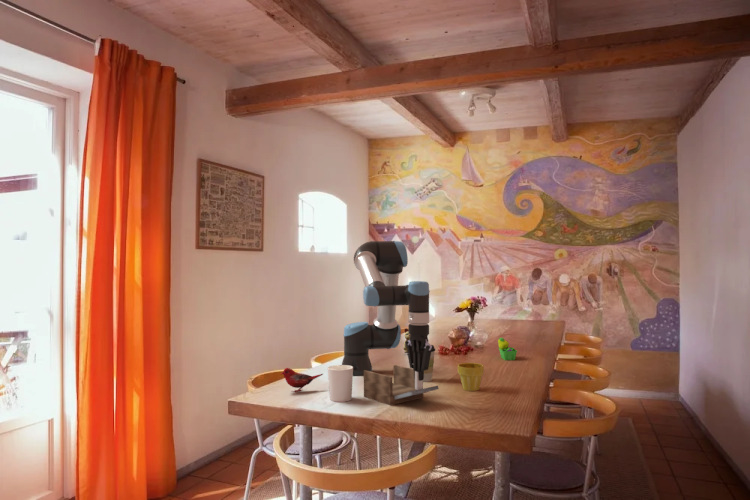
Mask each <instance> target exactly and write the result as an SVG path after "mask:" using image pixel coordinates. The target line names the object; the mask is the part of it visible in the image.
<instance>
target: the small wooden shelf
mask: <svg viewBox="0 0 750 500" xmlns="http://www.w3.org/2000/svg"><path fill="white" fill-rule="evenodd" d="M415 390H416V389H415V379H414V370H413V368H410V367H406V366H405V367H404V366H400V365H397V364H395V365H393V376H390V375H387V374H383V373H377V372H374V371H372V372H371V371H367V370H365V371H364V375H363V398H367V399H370V400H373V401H375V402H378V403H383V404H385V405H388V406H394V405H398V404H402V403H405V402H411V401H415V400H417V399H423V398H424V393H422V394H418V395H413V396H409V397H405V398H400V399H396V400H395V399H394V396H397V395H401V394H404V393H408V392H411V391H415ZM419 390H420V389H419Z"/></svg>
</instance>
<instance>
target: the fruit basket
mask: <svg viewBox="0 0 750 500" xmlns="http://www.w3.org/2000/svg"><path fill="white" fill-rule="evenodd" d="M497 343H498V350H499V354H500V357H501V359H503V360H504V361H515V360H516V357H517V353H518V350H517V349H515V348H514V347H509V346H510V345H509V344H510V343H509V342H508V341H507V340H506V339H505V338H504V337H499V338H498V340H497Z"/></svg>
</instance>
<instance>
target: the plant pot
mask: <svg viewBox="0 0 750 500" xmlns="http://www.w3.org/2000/svg"><path fill="white" fill-rule="evenodd" d="M484 367H485V366H484V365H483V364H482V363H479V362H478V363H477V362H462V363H458V364H457V374H458V375H459V378H460V382H461V386H462V390H464V391H467V392H476V391H479V390H480V387H481V382H482V377H483V375H484V372H485V370H484V369H485V368H484Z"/></svg>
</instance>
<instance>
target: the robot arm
mask: <svg viewBox="0 0 750 500" xmlns="http://www.w3.org/2000/svg"><path fill="white" fill-rule="evenodd" d="M408 262H409V259H408V251H407V247H406V244H405V243H404V242H402V241H395V240H391V241H390V240H383V241H382V240H381V241H380V240H379V241H378V240H377V241H376V240H374V241H373V240H371V241H367V242H364V243H363V244H361V245H360V246H359V247H358V248H357V249H356V250H355V252H354V254H353V264H354V266H355V268H356V269H357V270H358V271H359V272H360V276H361V278H362V281H363V284H364V288H363V290H362V292H363V293H362V297H363V303H364V305H365V306H366V307H377V312H376V313H377V314H376V317H375V318H374V319H373V323H372V324H369V322H368V321H357V322H356V321H355V322H352V323H349V324H346V325H345V326H344V327H343V344H344V345H343V359H342V362H341V365H349V366H352V367H353V376H364V371H365V370H367V371H371V372H373V365H372V362H371V360H370V355H369V350H382V349H383V350H385V349H387V350H390V349H396V348H398V346H399V344H400V342H401V336H402V334H401V332H402V328H401V325H400V324H399V323H398V321H397V319H396V311H397V306H408V323H409V324H408V328H407V329H408V330H409V335H410V340H408V341H406V340H404V342H405V345H406V347H407V352H408V355H407V358H408V365H409V368H410V369H413V370H414V379H415V389H416V390H419V389H424V382H423V379H424V371H425V370H428V367H429V361H430V356H431V351H432V349H433V346H434V345H433V344H430V342H429V338H428V336H429V335H430V325H429V323H430V291H431V290H430V284H429V282H428V281H424V280H423V281H422V280H421V281H420V280H417V281H416V280H414V281H413V280H412V281H409V282H408V284H406V285H399V277H400V274H402V272H403V269H404V268H406V267H407V266H408Z"/></svg>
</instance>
